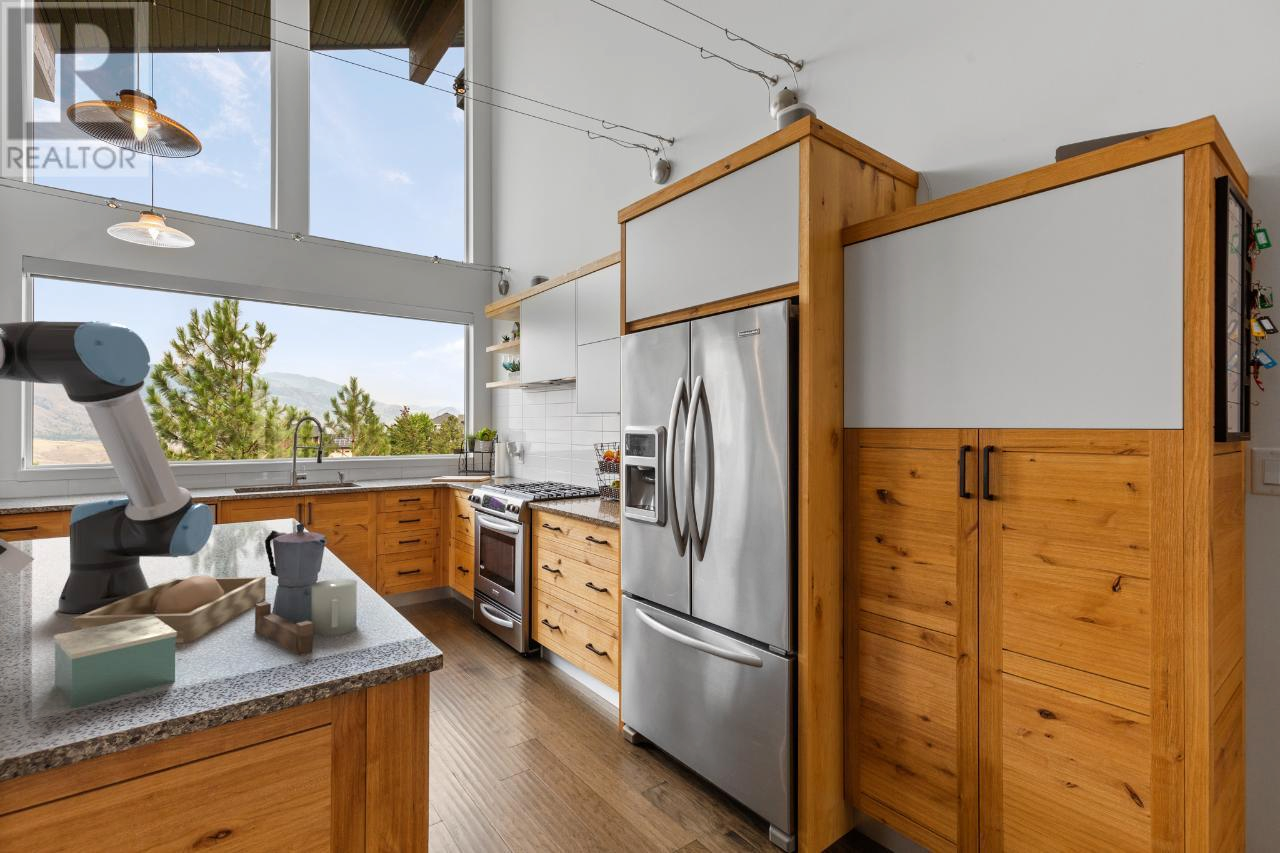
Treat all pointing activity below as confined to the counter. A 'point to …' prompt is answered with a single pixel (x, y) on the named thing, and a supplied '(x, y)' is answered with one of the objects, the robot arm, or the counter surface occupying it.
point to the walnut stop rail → (284, 630)
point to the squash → (187, 595)
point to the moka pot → (295, 571)
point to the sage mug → (334, 607)
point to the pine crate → (189, 625)
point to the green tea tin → (114, 660)
